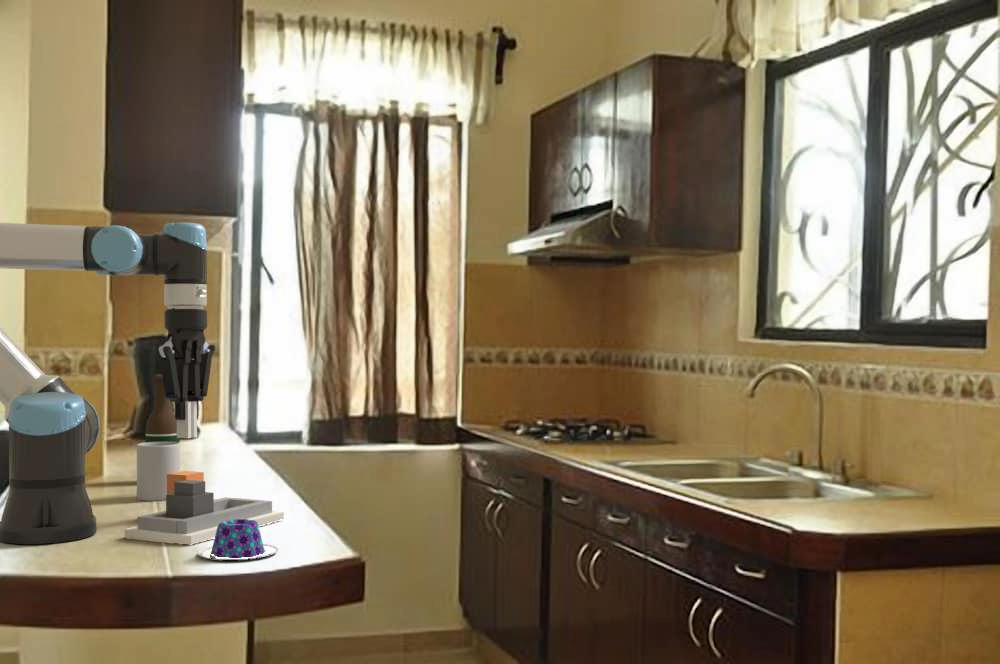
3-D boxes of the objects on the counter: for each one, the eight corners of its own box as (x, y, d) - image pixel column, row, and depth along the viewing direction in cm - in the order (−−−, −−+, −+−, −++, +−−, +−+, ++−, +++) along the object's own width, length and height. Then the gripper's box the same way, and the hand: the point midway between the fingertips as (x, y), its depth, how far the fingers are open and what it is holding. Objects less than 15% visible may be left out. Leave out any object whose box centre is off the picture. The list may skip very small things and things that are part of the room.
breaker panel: (191, 545, 171) (191, 523, 171) (124, 538, 177) (124, 516, 177) (283, 520, 193) (283, 501, 193) (221, 514, 199) (221, 495, 199)
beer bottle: (153, 485, 236) (152, 375, 236) (138, 481, 242) (138, 374, 242) (186, 482, 241) (186, 374, 241) (171, 478, 247) (171, 373, 247)
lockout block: (186, 519, 195) (186, 475, 194) (166, 517, 197) (166, 473, 196) (203, 515, 199) (203, 472, 199) (184, 513, 201) (184, 470, 201)
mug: (178, 500, 216) (178, 445, 216) (133, 501, 214) (133, 446, 214) (184, 491, 228) (184, 439, 228) (142, 492, 226) (141, 440, 226)
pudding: (232, 545, 173) (232, 512, 173) (294, 552, 168) (294, 518, 168) (180, 560, 162) (180, 525, 162) (244, 568, 157) (244, 531, 157)
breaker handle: (193, 527, 178) (193, 484, 178) (166, 524, 180) (166, 482, 180) (213, 522, 182) (213, 480, 182) (186, 519, 185) (186, 478, 185)
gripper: (174, 307, 189) (175, 442, 189) (227, 308, 201) (228, 434, 202) (142, 307, 192) (143, 440, 193) (196, 308, 205) (198, 433, 205)
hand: (187, 437), depth 197 cm, fingers closed
